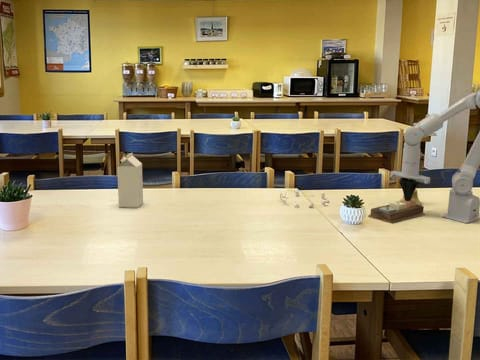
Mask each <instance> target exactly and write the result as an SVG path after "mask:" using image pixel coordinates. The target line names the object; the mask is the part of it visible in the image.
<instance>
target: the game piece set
mask: <svg viewBox="0 0 480 360" xmlns="http://www.w3.org/2000/svg"><path fill="white" fill-rule="evenodd" d="M287 193H288V190H285V193H284V194H283V193H282V192H280V193H279V199H277V201H278V202H281V203H283V205H287V203H288V201H287V199H288V197H287V196H286V194H287ZM294 193H295V197H299V195H300V192H299V189H298V188H295V189H294ZM314 195H315V193H312V194H310V195H309V197H310V198H313V197H314ZM320 195H321V196H320V197H321V201H320V202H321V205H320V206H321V207H327V205H326V203H330V200H329V198H326V200H325V191H322V192H320ZM299 204H300V203H299V202H295V203H294V208H296V209H298V208H300V205H299ZM314 206H315V205H314V201H311V202H310V203H309V204H308V207H310V208H311V209H313V207H314Z"/></svg>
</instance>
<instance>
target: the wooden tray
mask: <svg viewBox="0 0 480 360" xmlns="http://www.w3.org/2000/svg"><path fill="white" fill-rule="evenodd" d="M383 207H389V204H386V205H382V206H378V207H373V208H370V214H368V217H369V218H372V219H374V220H375V219H376V220H378V221H382V222H386V223H388V224H396V223H400V222H403V221H407V220H411V219H414V218H419V217H423V216H425V215H426V213H425V212H424V210H425V209H424V207H425V206H424V205H422V204H421V205H417V204H416V206H414V207H410V208H406V209H402V210H397V211H393V212H389V213H387V212H384V211H380V210H379V208H383Z"/></svg>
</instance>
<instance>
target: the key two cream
mask: <svg viewBox="0 0 480 360" xmlns="http://www.w3.org/2000/svg"><path fill="white" fill-rule="evenodd" d="M388 205H389V207H390V208H394V209H396V211H397V210H402V209H406V203H402V202H399V200H398V201H397V200H396V201H393V202H389V204H388Z"/></svg>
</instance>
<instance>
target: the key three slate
mask: <svg viewBox="0 0 480 360" xmlns="http://www.w3.org/2000/svg"><path fill="white" fill-rule="evenodd" d="M379 210H380V211H384V212H387V213H389V212H393V211H396V209H394V208H390V207H383V208H379Z"/></svg>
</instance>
